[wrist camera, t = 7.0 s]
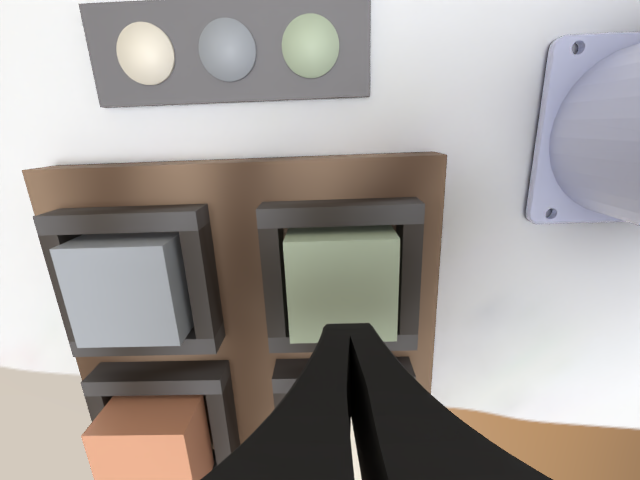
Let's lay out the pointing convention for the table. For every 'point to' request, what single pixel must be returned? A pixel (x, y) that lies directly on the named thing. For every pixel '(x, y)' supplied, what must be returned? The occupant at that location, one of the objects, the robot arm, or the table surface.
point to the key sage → (341, 279)
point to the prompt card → (227, 50)
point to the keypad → (243, 266)
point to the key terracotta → (150, 439)
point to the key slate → (124, 289)
